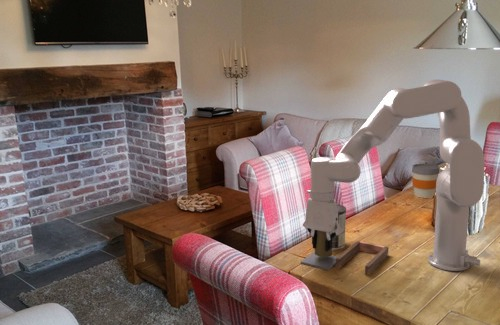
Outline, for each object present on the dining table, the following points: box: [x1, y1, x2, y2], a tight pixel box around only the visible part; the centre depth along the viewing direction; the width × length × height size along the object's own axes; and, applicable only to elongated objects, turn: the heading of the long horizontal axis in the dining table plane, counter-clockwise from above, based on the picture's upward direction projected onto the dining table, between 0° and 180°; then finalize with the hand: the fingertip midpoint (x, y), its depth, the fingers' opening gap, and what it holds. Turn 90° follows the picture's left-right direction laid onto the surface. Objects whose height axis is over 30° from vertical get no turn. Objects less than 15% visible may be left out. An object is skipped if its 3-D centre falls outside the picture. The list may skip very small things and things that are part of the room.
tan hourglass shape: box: [313, 230, 333, 257], centre depth 151 cm, size 6×6×11 cm
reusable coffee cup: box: [411, 163, 440, 198], centre depth 221 cm, size 12×13×15 cm
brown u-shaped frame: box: [335, 240, 389, 276], centre depth 151 cm, size 11×18×3 cm, turn 145°
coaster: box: [300, 251, 338, 271], centre depth 152 cm, size 10×10×1 cm
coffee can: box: [332, 203, 347, 251], centre depth 164 cm, size 10×10×14 cm
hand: (322, 248), depth 151 cm, fingers closed on tan hourglass shape, 4 cm apart
